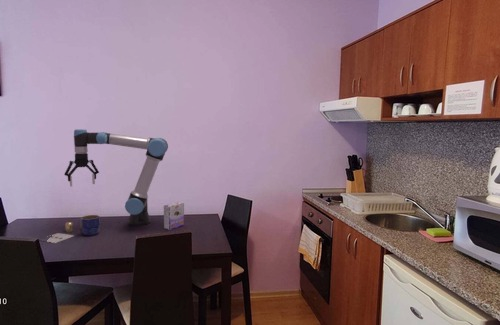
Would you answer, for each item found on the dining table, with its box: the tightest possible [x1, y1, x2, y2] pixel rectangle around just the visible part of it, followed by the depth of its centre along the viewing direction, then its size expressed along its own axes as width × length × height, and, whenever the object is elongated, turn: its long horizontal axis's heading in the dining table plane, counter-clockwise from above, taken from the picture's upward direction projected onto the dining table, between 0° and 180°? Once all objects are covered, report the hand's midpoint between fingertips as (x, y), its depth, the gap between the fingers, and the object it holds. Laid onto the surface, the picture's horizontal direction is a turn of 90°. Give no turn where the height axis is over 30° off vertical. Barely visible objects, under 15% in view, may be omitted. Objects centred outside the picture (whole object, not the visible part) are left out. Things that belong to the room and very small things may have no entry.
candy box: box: [163, 201, 185, 231], centre depth 224 cm, size 14×6×16 cm, turn 145°
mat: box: [46, 232, 75, 244], centre depth 199 cm, size 14×14×1 cm
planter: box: [80, 214, 101, 237], centre depth 207 cm, size 11×11×11 cm
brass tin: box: [65, 221, 74, 233], centre depth 212 cm, size 4×4×6 cm
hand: (82, 185), depth 213 cm, fingers open, 13 cm apart
